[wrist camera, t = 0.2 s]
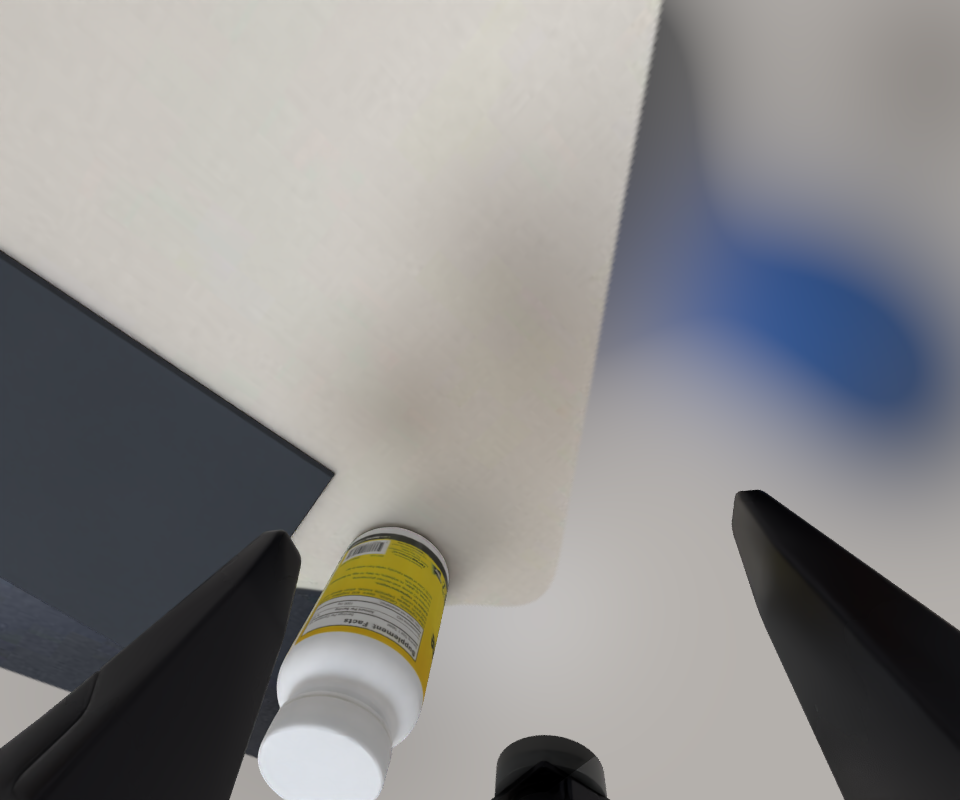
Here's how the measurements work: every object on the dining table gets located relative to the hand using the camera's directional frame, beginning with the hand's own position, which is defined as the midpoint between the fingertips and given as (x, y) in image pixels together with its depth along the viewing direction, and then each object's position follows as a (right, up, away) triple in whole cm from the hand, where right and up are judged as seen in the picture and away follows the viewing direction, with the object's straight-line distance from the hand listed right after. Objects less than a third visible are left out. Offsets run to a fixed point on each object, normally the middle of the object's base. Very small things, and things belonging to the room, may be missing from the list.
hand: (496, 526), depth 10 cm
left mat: (-22, -3, +18) cm, 29 cm away
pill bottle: (-5, -7, +18) cm, 20 cm away
